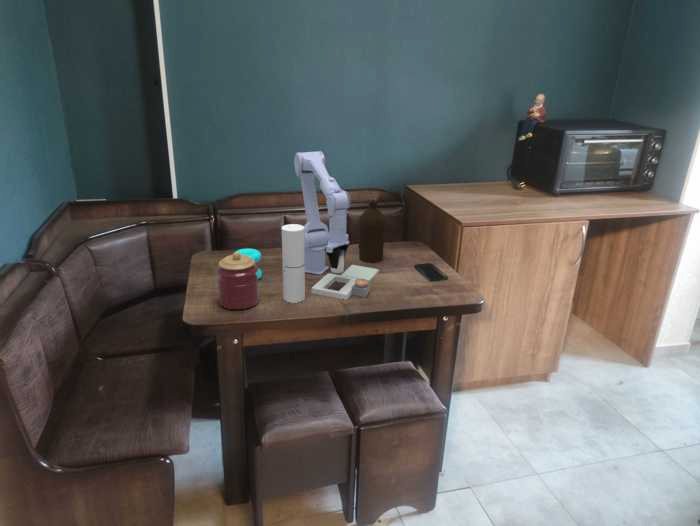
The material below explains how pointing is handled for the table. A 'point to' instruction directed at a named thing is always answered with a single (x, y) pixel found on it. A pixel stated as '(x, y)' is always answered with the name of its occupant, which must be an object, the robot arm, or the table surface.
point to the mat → (361, 272)
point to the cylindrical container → (293, 263)
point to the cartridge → (340, 264)
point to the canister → (238, 281)
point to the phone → (430, 272)
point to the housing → (344, 292)
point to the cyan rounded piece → (253, 254)
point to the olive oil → (371, 233)
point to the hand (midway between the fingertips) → (337, 265)
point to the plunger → (361, 283)
